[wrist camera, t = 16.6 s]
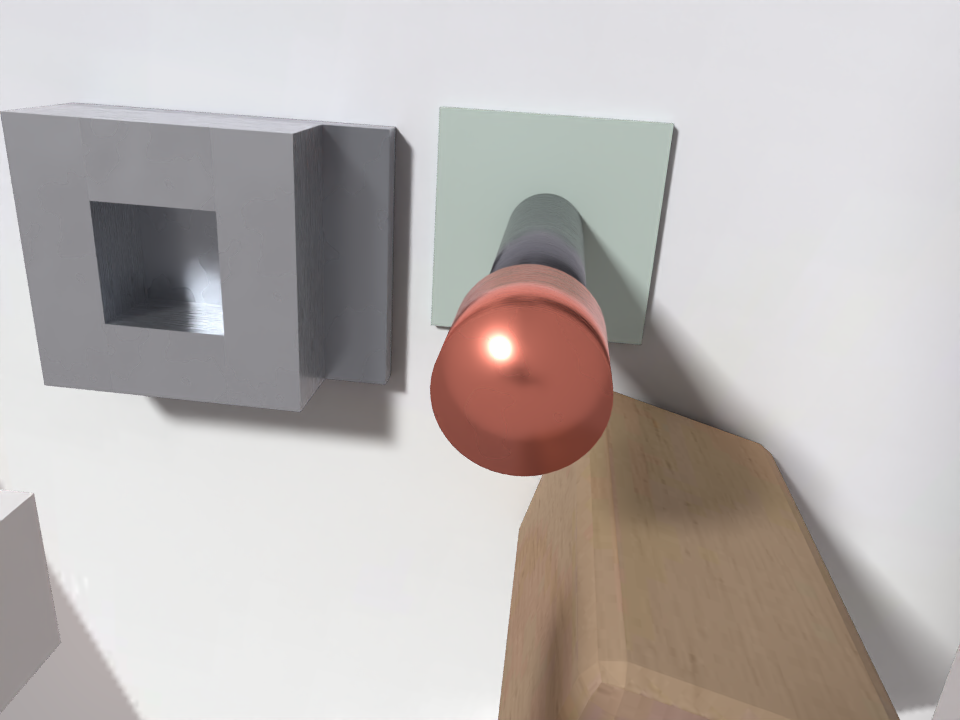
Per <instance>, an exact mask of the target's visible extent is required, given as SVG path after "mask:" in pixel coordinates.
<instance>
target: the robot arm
mask: <svg viewBox="0 0 960 720" xmlns="http://www.w3.org/2000/svg"><path fill="white" fill-rule="evenodd" d="M60 643H61V640H60V634H59V629H58V624H57V618H56V613H55V607H54V601H53V596H52V590H51V585H50V579H49V574H48V568H47V563H46V557H45V552H44V546H43V541H42V535H41V530H40V524H39V519H38V513H37V508H36V502H35V497H34V493H27V492H19V491H10V490H1V489H0V714H1V713H2V711H3V710H4V709H5V708H6V707H7V705H8V704H9V703H10V702H11V701H12V700H13V698H14V697H15V696H16V695H17V694H18V693H19V691H20V690H21V689H22V688H23V687H24V686H25V684H26V683H27V682H28V681H29V680H30V678H31V677H32V676H33V675H34V674H35V673H36V672H37V670H38V669H39V668H40V667H41V666H42V664H43V663H44V662H45V661H46V660H47V659H48V657H49V656H50V655H51V654H52V653H53V652H54V650H55V649H56V648H57V647H58V646H59V644H60ZM932 720H960V644H959V647H958V650H957V652H956V655H955V658H954V661H953V663H952V666H951V669H950V671H949V674H948V677H947V680H946V682H945V685H944V688H943V690H942V693H941V696H940V699H939V701H938V704H937V707H936V710H935V712H934V715H933V718H932Z"/></svg>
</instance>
